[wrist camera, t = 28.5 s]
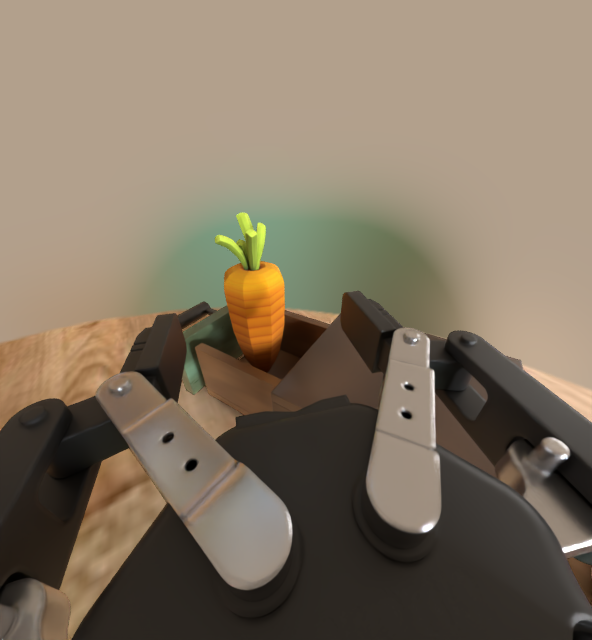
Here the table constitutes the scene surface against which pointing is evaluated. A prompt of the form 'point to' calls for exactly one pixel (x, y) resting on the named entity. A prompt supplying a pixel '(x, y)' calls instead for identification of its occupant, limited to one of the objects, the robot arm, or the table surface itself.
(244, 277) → the carrot
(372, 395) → the cabinet
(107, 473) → the table surface
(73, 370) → the table surface
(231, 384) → the drawer
